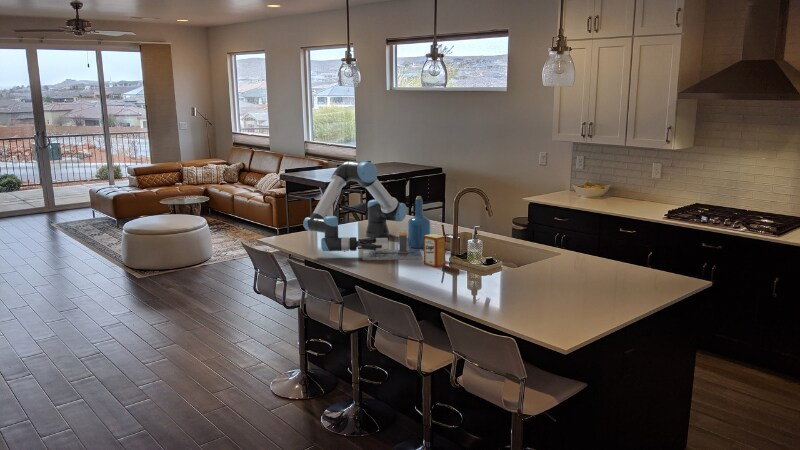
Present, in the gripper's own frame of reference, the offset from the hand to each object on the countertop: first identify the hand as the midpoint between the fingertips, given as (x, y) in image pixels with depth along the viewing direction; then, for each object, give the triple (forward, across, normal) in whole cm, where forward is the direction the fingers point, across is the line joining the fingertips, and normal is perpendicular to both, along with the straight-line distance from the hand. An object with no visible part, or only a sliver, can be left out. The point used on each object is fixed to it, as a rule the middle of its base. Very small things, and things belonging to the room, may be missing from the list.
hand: (387, 243), depth 353 cm
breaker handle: (+8, -1, -5) cm, 10 cm away
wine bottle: (+19, -22, -8) cm, 30 cm away
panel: (+2, 0, -7) cm, 8 cm away
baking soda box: (+24, +20, -8) cm, 33 cm away
